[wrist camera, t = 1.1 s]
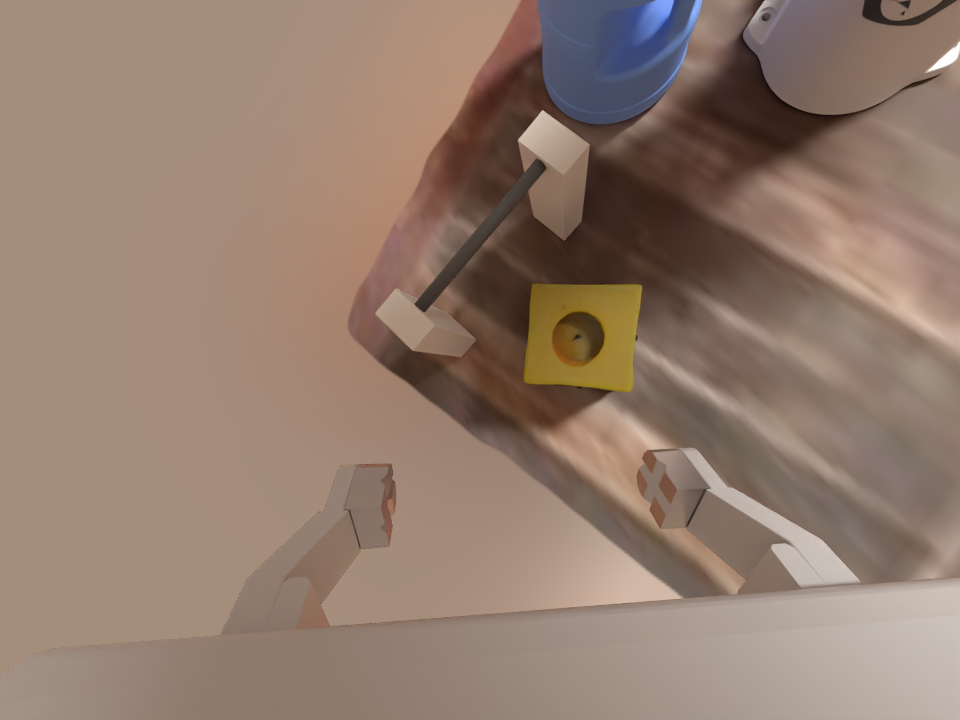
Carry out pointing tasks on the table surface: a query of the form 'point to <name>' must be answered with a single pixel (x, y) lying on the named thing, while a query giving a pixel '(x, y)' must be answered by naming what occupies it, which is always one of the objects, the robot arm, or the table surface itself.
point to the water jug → (612, 54)
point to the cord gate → (555, 202)
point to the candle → (582, 335)
